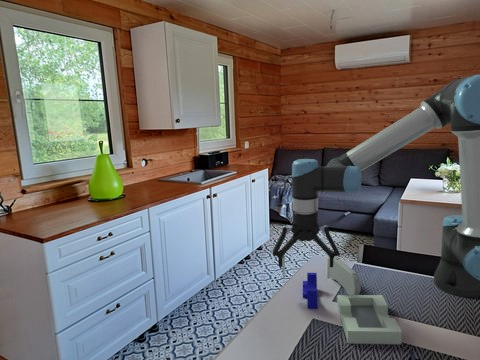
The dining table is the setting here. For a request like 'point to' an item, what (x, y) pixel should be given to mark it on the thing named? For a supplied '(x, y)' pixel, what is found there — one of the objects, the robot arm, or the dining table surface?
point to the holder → (367, 320)
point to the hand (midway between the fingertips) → (305, 276)
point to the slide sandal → (345, 277)
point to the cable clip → (311, 291)
